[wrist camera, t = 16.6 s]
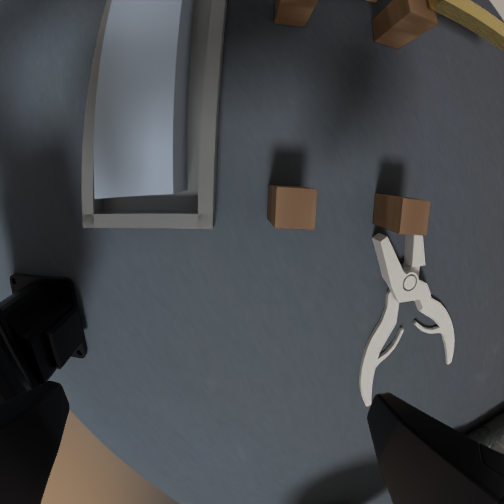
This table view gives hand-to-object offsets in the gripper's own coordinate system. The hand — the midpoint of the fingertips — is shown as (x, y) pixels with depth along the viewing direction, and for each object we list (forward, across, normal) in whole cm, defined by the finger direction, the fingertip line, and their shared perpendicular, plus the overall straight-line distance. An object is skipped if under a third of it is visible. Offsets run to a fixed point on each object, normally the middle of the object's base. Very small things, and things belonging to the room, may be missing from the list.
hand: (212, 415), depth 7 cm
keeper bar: (+7, -16, -18) cm, 25 cm away
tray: (+12, +4, -13) cm, 18 cm away
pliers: (+13, -14, +4) cm, 19 cm away
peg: (+12, +5, -13) cm, 18 cm away
